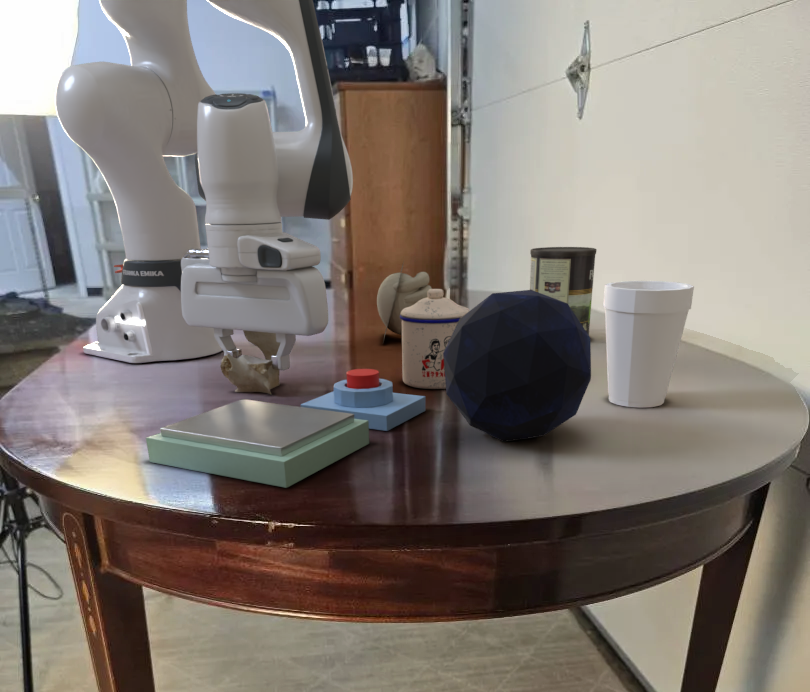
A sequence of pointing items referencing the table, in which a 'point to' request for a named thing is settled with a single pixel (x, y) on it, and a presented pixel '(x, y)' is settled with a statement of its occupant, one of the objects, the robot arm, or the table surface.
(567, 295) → the coffee can
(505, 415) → the decorative orb
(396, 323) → the decorative object
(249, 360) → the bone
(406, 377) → the teacup with lid
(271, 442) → the scale
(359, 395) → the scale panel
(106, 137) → the robot arm
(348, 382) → the button
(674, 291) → the foam cup
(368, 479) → the table surface
